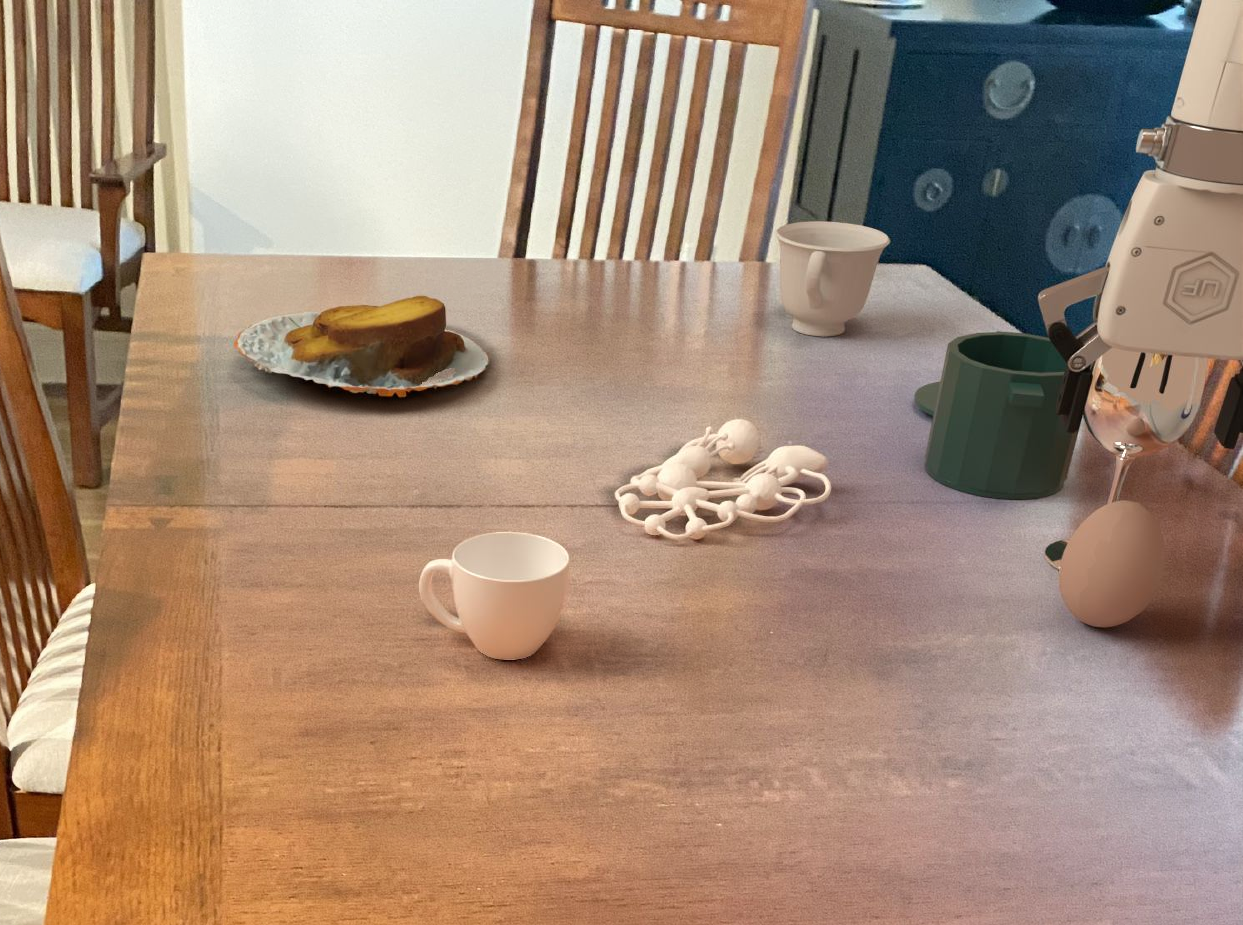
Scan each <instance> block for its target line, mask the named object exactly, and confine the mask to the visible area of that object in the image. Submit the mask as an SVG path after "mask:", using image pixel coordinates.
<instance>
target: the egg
mask: <svg viewBox="0 0 1243 925" xmlns="http://www.w3.org/2000/svg"><path fill="white" fill-rule="evenodd" d="M1106 504H1107V503H1106ZM1106 504H1105V505H1102V506H1101V507H1098V508H1097V509H1096V510H1094V511H1093V512H1092V513H1091V514H1090V515H1089V516H1087V517H1086V518H1085V519H1084V520H1083V521H1082V523H1080V525H1079V526H1078V527H1077V528H1076V530H1075V531H1074V533H1073V534H1072V535H1071V536H1070V538H1069V539H1070V540H1069V542H1068V544H1067V546H1066V548H1065V550H1064V553H1063V556H1062V559H1061V562H1060V569H1059V571H1058V586H1059V591H1060V595H1061V597H1062V600H1063V602H1064V604H1065V606H1066V607H1067V609H1068V610H1069V611H1070V613H1071V614H1072V615H1073V616H1074V617H1075V618H1077V620H1079V621H1080V622H1081V623H1083V624H1086V625H1089V626H1090V627H1094V628H1102V629H1103V628H1104V629H1105V628H1111V627H1117V626H1120V625H1122V624H1125V623H1127V622H1128V621H1130V620H1132V619H1133V618H1135V617H1136V616H1137V615H1139V614H1140V613H1141V612H1143V611H1144V610H1145V609H1146V608H1147V607H1148V606H1149V605H1150V603H1151V602H1152V601H1153V599H1154V598H1155V596H1156V594H1157V592H1158V590H1159V588H1160V585H1161V583H1162V582H1163V577H1164V572H1165V566H1166V559H1167V556H1166V546H1165V539H1164V534H1163V532H1162V529H1161V526H1160V523H1159V521H1158V520H1157V518H1156V516H1154V514H1153V513H1152V512H1151V511H1150V510H1149V509H1148V508H1147V507H1145V506H1144V505H1142V504H1141V503H1139V502H1137V501H1132V500H1118V501H1116V502H1113V503H1110V504H1107V505H1106Z"/></svg>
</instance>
